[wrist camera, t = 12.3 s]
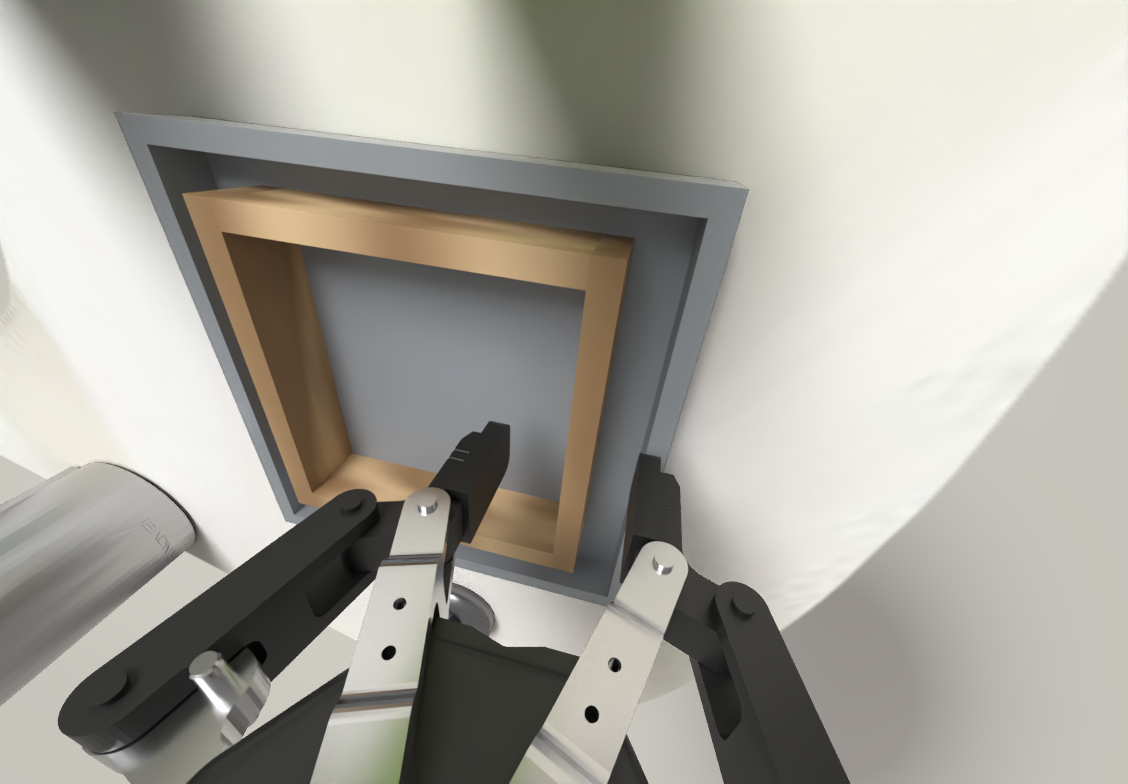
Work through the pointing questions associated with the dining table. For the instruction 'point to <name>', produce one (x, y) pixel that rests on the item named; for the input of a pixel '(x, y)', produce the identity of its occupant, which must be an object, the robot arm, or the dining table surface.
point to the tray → (467, 311)
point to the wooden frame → (419, 235)
